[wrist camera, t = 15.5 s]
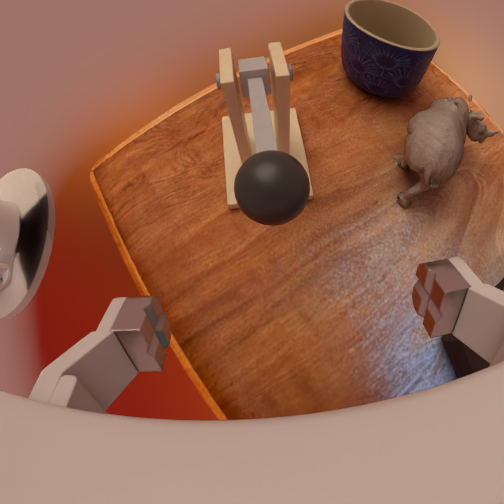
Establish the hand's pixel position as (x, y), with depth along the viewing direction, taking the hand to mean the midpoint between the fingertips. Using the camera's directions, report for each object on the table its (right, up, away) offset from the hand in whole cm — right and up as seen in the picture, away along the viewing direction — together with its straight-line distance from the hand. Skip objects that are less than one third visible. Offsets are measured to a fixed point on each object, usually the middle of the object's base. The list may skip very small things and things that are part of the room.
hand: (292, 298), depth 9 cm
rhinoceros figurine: (+21, +13, +23) cm, 34 cm away
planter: (+17, +27, +27) cm, 41 cm away
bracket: (0, +12, +25) cm, 28 cm away
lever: (0, +9, +10) cm, 13 cm away
